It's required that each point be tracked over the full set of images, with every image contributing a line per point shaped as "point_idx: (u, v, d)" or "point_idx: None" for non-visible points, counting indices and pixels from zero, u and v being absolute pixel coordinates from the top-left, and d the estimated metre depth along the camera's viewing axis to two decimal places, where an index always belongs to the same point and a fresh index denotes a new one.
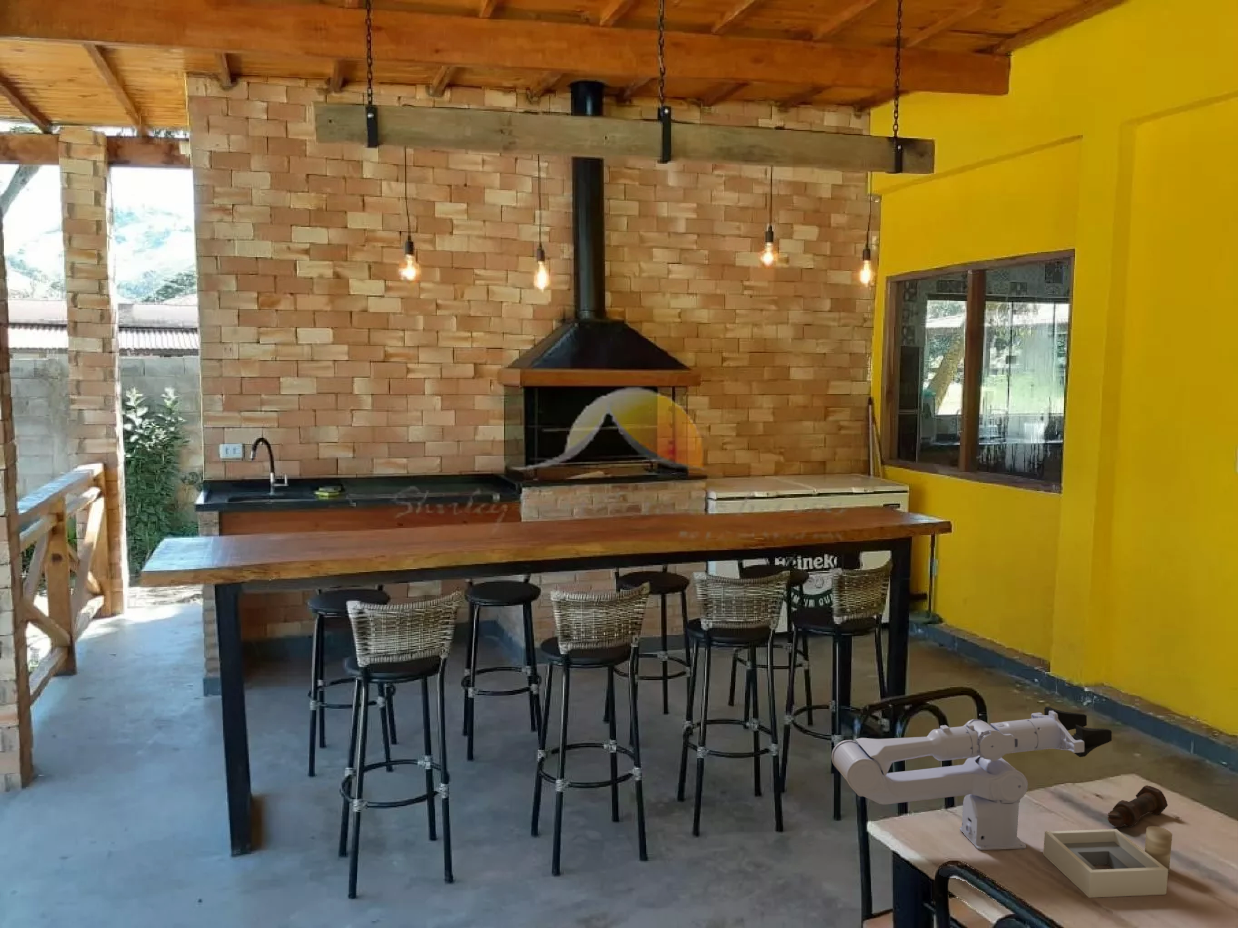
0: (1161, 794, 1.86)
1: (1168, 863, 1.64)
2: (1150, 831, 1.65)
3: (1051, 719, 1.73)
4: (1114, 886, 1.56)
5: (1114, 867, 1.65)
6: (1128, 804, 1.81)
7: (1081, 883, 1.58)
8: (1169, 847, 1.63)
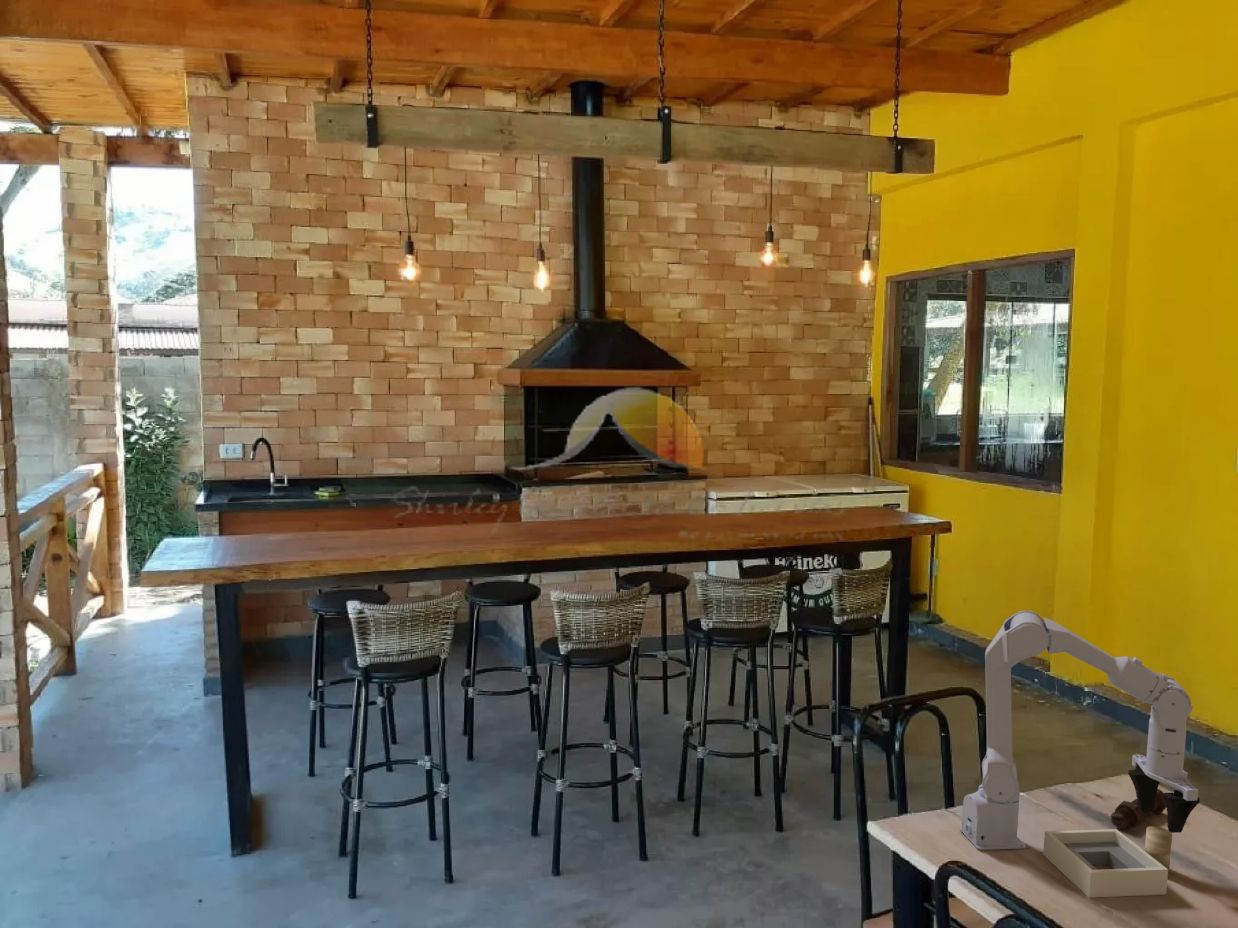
0: (1162, 794, 1.86)
1: (1168, 863, 1.64)
2: (1150, 831, 1.65)
3: None
4: (1114, 886, 1.56)
5: (1114, 867, 1.65)
6: (1131, 805, 1.81)
7: (1081, 883, 1.58)
8: (1169, 847, 1.63)
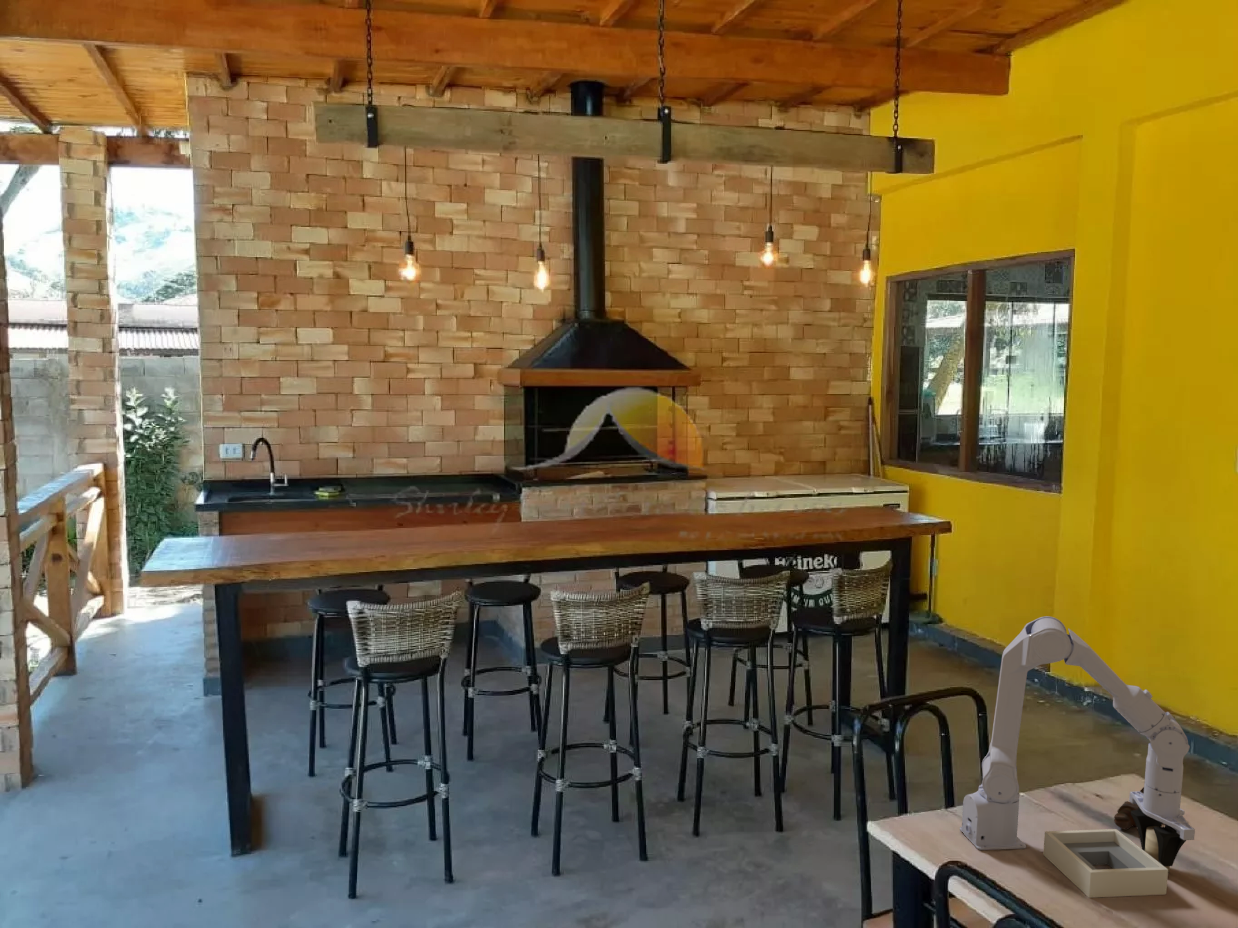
0: None
1: None
2: (1150, 831, 1.65)
3: None
4: (1114, 886, 1.56)
5: (1114, 867, 1.65)
6: (1134, 806, 1.81)
7: (1081, 883, 1.58)
8: None
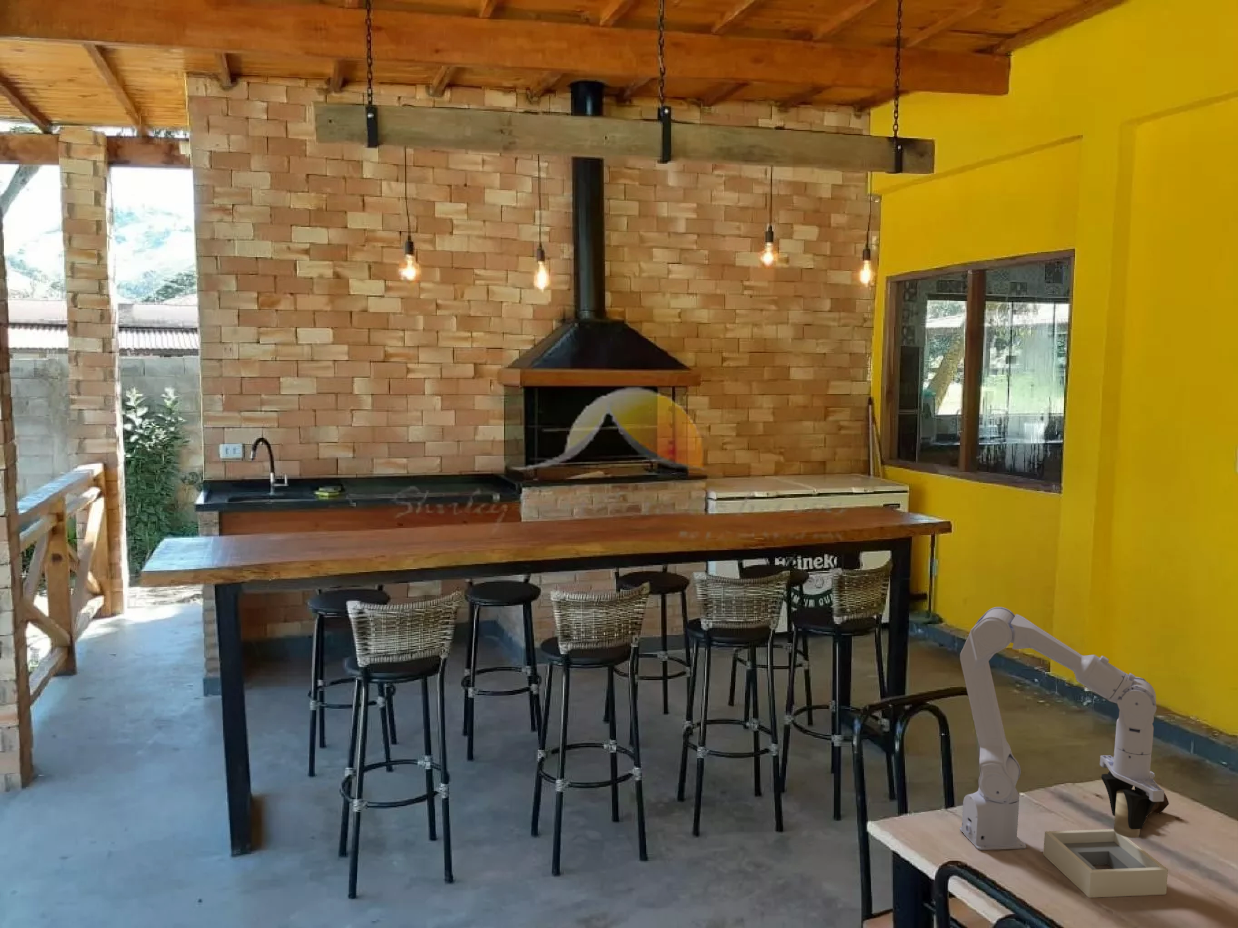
0: None
1: None
2: (1121, 794, 1.63)
3: None
4: (1114, 886, 1.56)
5: (1114, 867, 1.65)
6: None
7: (1081, 883, 1.58)
8: None
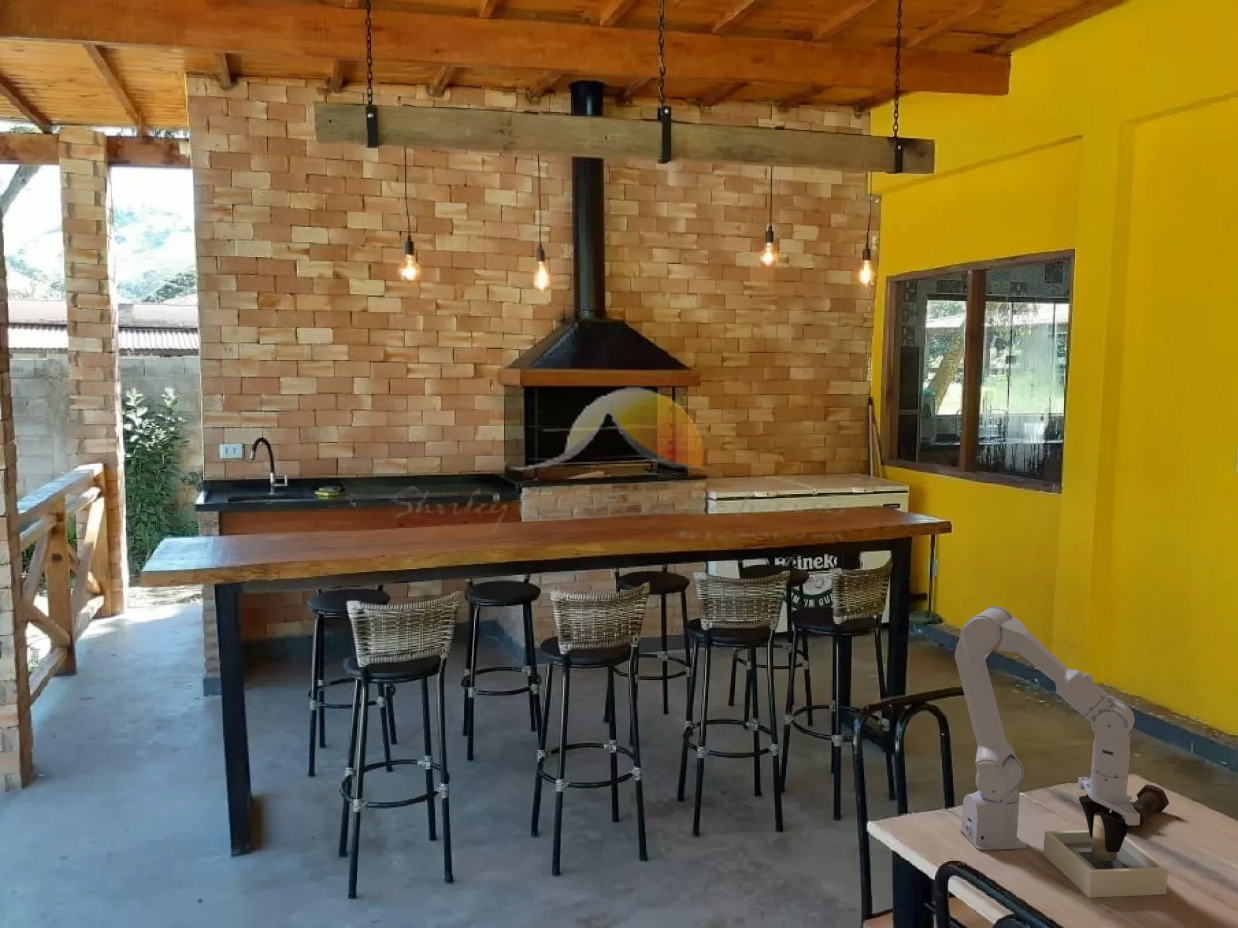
0: (1162, 792, 1.86)
1: None
2: (1098, 816, 1.62)
3: None
4: (1114, 886, 1.56)
5: (1114, 867, 1.65)
6: (1137, 806, 1.81)
7: (1081, 883, 1.58)
8: None
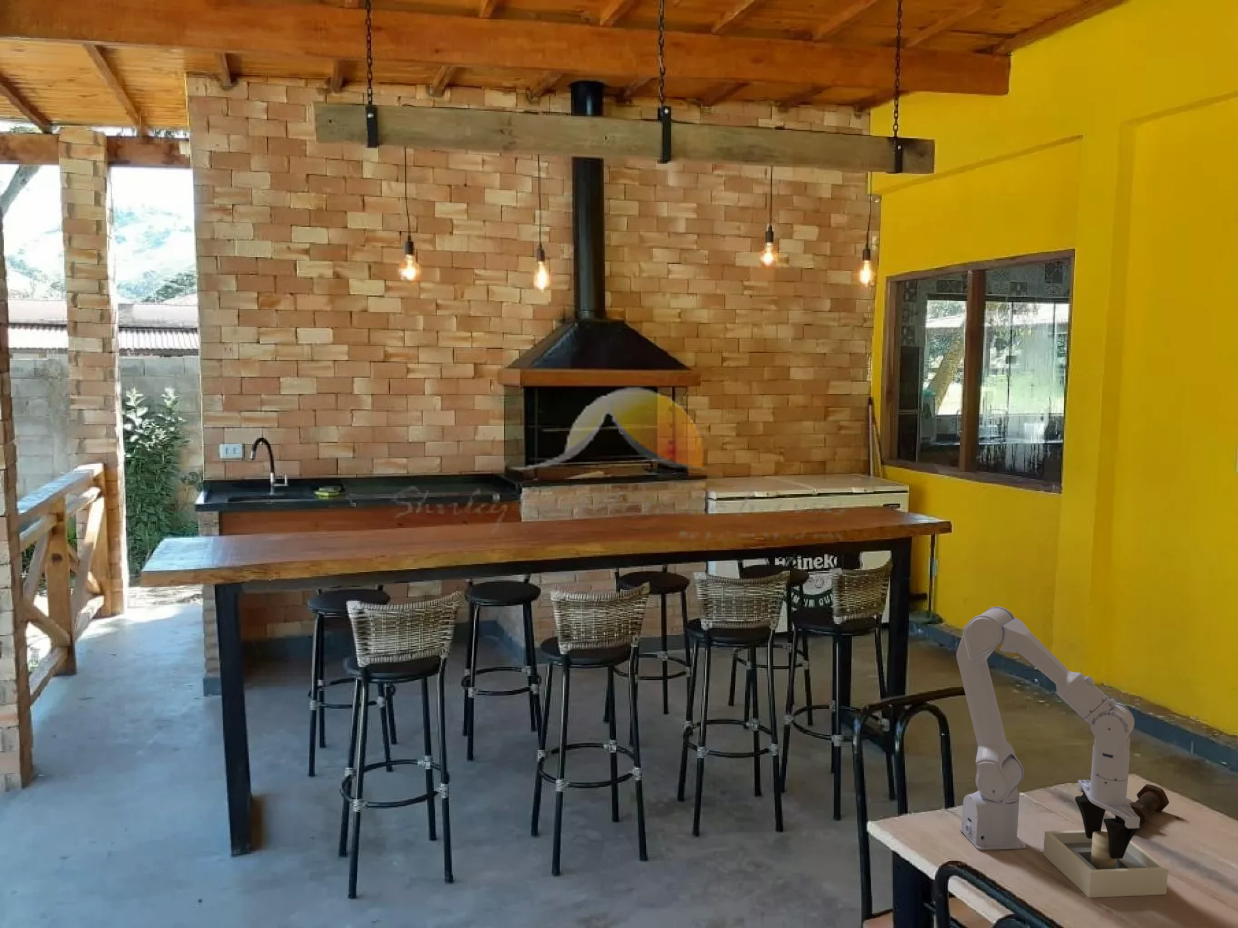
0: (1163, 792, 1.87)
1: (1114, 868, 1.61)
2: (1096, 836, 1.63)
3: None
4: (1114, 886, 1.56)
5: None
6: (1138, 806, 1.81)
7: (1081, 883, 1.58)
8: None
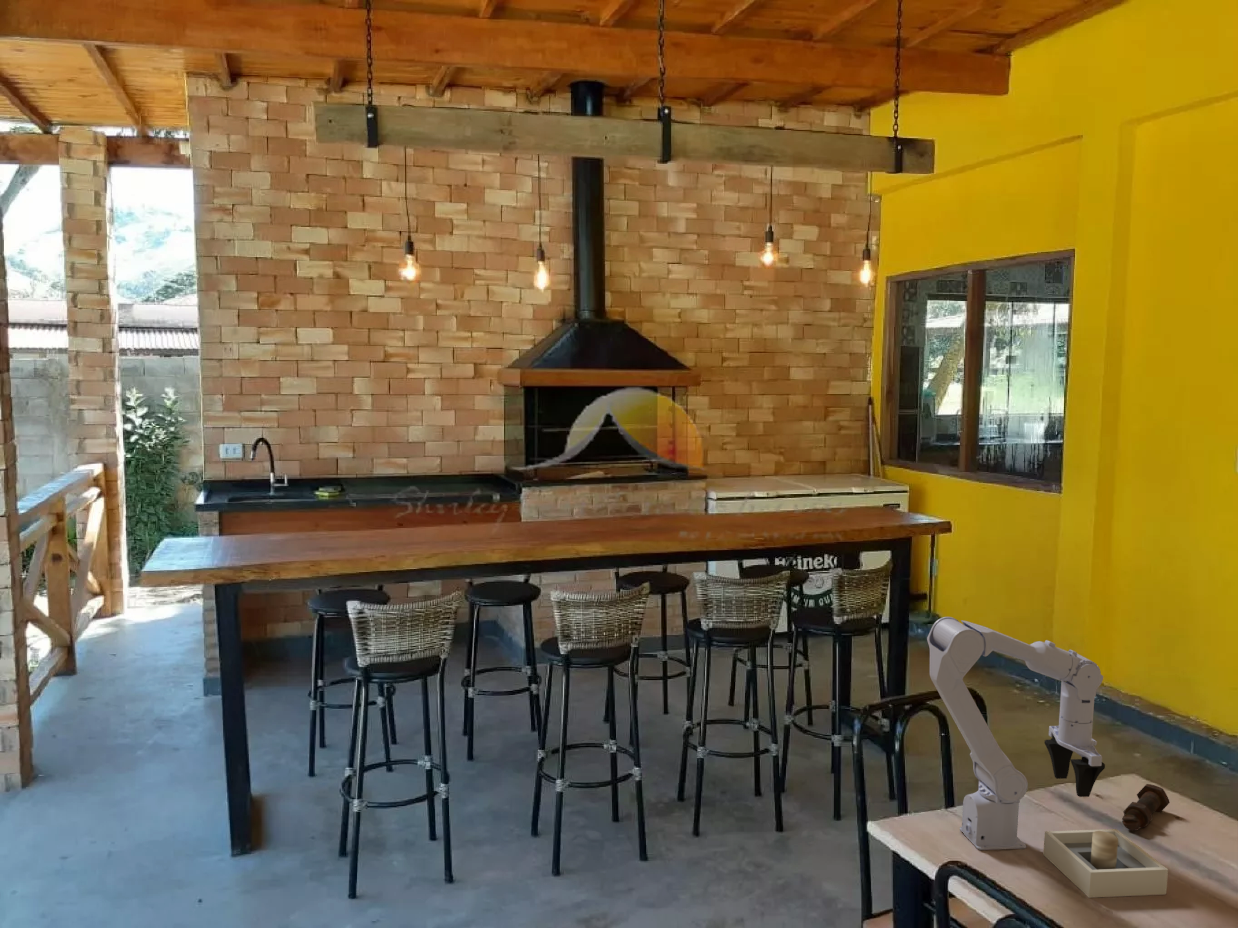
0: (1163, 792, 1.87)
1: (1114, 868, 1.61)
2: (1096, 836, 1.63)
3: None
4: (1114, 886, 1.56)
5: None
6: (1140, 806, 1.81)
7: (1081, 883, 1.58)
8: (1115, 852, 1.61)
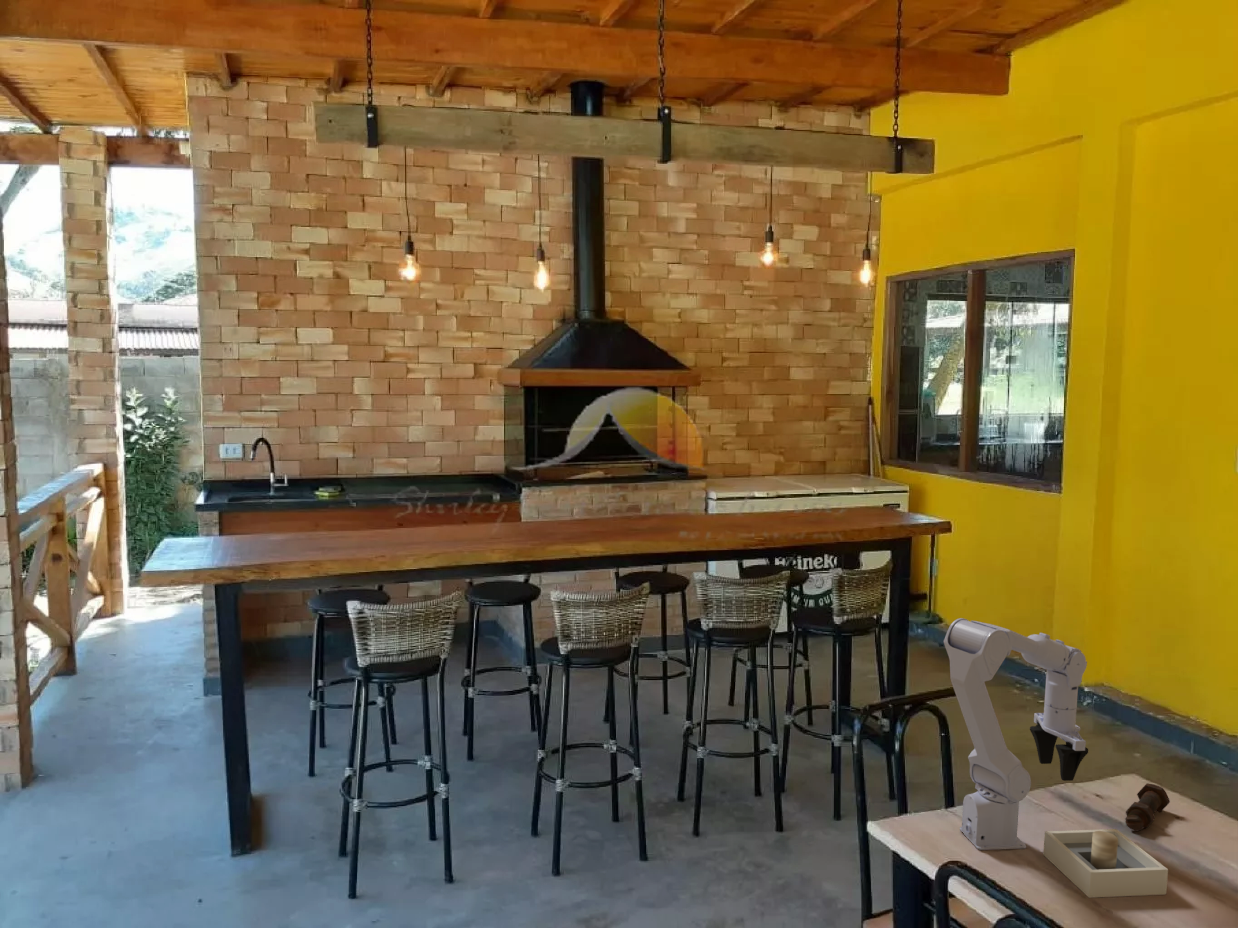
0: (1163, 791, 1.87)
1: (1114, 868, 1.61)
2: (1096, 836, 1.63)
3: None
4: (1114, 886, 1.56)
5: None
6: (1143, 806, 1.81)
7: (1081, 883, 1.58)
8: (1115, 852, 1.61)
